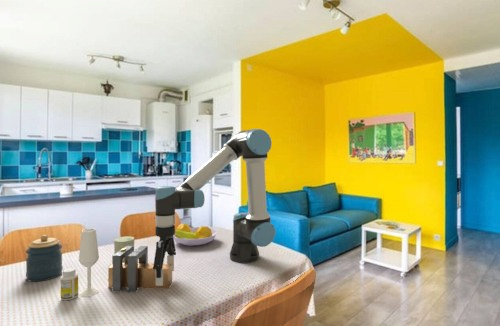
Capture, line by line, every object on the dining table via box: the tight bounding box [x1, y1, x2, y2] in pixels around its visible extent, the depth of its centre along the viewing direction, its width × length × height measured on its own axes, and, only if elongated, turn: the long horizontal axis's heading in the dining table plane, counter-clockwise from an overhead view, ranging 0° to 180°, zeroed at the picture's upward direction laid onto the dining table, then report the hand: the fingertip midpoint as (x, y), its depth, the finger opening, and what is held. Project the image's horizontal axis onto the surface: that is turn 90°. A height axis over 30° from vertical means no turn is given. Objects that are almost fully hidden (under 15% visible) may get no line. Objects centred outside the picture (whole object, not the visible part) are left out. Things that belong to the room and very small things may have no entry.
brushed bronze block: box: [107, 262, 173, 290], centre depth 118 cm, size 24×5×8 cm, turn 88°
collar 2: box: [127, 245, 149, 293], centre depth 117 cm, size 3×12×14 cm, turn 178°
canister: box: [25, 234, 63, 282], centre depth 126 cm, size 13×13×18 cm
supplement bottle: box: [59, 267, 79, 301], centre depth 107 cm, size 6×6×10 cm
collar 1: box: [111, 245, 135, 293], centre depth 118 cm, size 3×12×15 cm, turn 178°
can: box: [113, 235, 135, 263], centre depth 142 cm, size 9×9×12 cm
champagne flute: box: [78, 228, 100, 298], centre depth 111 cm, size 7×7×24 cm
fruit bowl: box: [173, 223, 218, 247], centre depth 174 cm, size 28×27×11 cm
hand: (165, 277), depth 117 cm, fingers open, 13 cm apart
